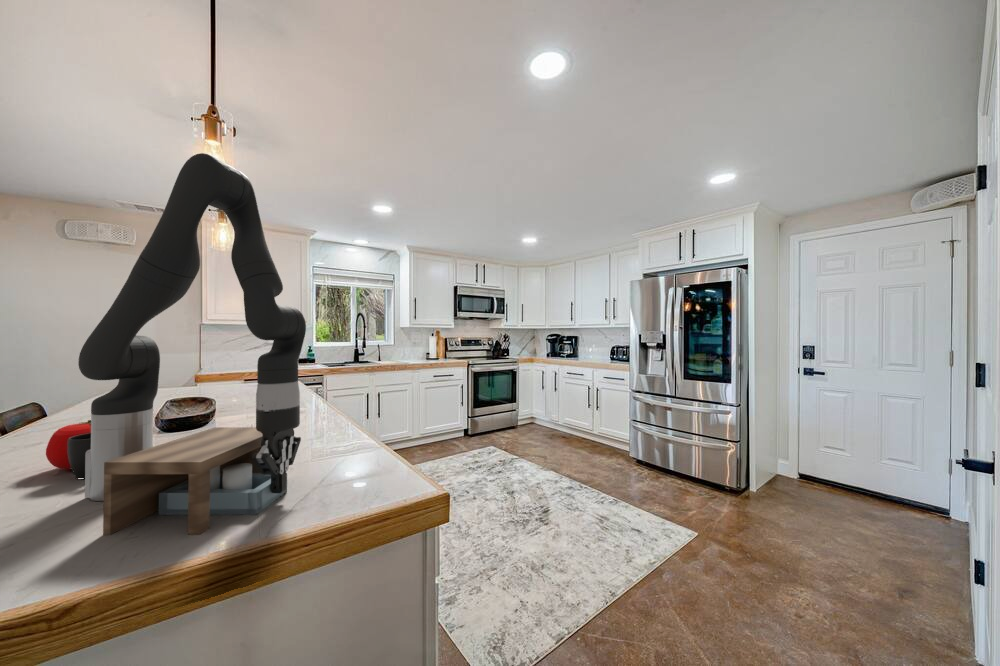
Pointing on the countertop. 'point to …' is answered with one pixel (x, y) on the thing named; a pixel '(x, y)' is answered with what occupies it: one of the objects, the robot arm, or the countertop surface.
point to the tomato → (64, 443)
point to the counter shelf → (174, 475)
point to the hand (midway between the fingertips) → (278, 491)
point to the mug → (78, 453)
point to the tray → (225, 492)
